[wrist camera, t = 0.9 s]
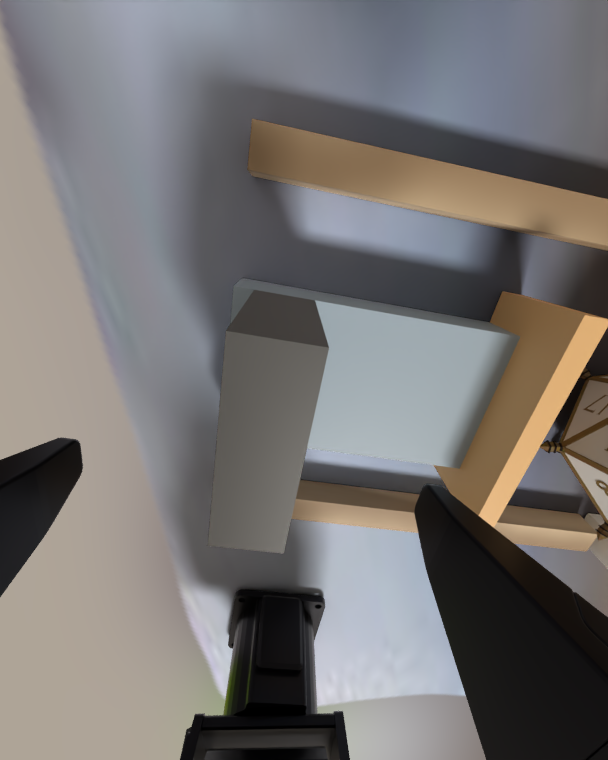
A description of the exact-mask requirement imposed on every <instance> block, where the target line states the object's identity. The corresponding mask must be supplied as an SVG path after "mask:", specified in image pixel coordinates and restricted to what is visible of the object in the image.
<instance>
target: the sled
mask: <svg viewBox="0 0 608 760" xmlns="http://www.w3.org/2000/svg"><path fill="white" fill-rule="evenodd" d="M607 327H608V319H606V318H603V317H599V316H595V315H592V314H588V313H585V312H581V311H578V310H574V309H570V308H567V307H563V306H560V305H556V304H553V303H549V302H545V301H542V300H538V299H535V298H531V297H528V296H524V295H520V294H514V293H509V292H504V291H502V294H501V296H500V299H499V301H498V303H497V306H496V308H495V311H494V313H493V315H492V318H491V320H490V322H485V321H480V320H474V319H468V318H463V317H457V316H452V315H446V314H441V313H435V312H429V311H424V310H418V309H413V308H407V307H402V306H396V305H390V304H385V303H379V302H374V301H368V300H363V299H357V298H351V297H346V296H340V295H335V294H329V293H324V292H318V291H312V290H307V289H301V288H296V287H290V286H285V285H279V284H273V283H268V282H262V281H257V280H251V279H246V278H242V279H241V280H240V281H238V282H237V283H236V284H235V285H234V286H233V297H232V308H231V319H230V326H229V327H228V328H227V330H226V335H225V346H224V358H223V370H222V382H221V394H220V405H219V417H218V429H217V441H216V453H215V464H214V476H213V488H212V500H211V512H210V523H209V535H208V546H212V547H222V548H232V549H242V550H252V551H262V552H272V553H282V554H284V550H285V546H286V541H287V537H288V532H289V528H290V523H291V518H292V514H293V509H294V505H295V500H296V496H297V491H298V487H299V482H300V478H301V473H302V469H303V464H304V460H305V455H306V450H307V448H308V449H315V450H323V451H330V452H338V453H346V454H353V455H361V456H368V457H376V458H383V459H391V460H398V461H406V462H414V463H421V464H429V465H434V467H435V468H436V470H437V472H438V473H439V475H440V477H441V479H442V480H443V482H444V484H445V485H446V487H447V489H448V490H449V492H450V493H451V494H452V495H453V496H454V497H456V498H457V499H458V500H459V501H461V502H462V503H463V504H464V505H466V506H467V507H468V508H470V509H471V510H472V511H473V512H475V513H476V514H477V515H478V516H480V517H481V518H482V519H483V520H485V521H486V522H487V523H489V524H490V525H491V526H492V527H495V525H496V523H497V521H498V520H499V518H500V516H501V514H502V513H503V511H504V509H505V507H506V505H507V504H508V502H509V500H510V498H511V497H512V495H513V493H514V491H515V490H516V488H517V486H518V484H519V483H520V481H521V479H522V477H523V475H524V474H525V472H526V470H527V468H528V467H529V465H530V463H531V461H532V460H533V458H534V456H535V454H536V452H537V451H538V449H539V447H540V445H541V444H542V442H543V440H544V438H545V437H546V435H547V433H548V431H549V430H550V428H551V426H552V424H553V422H554V421H555V419H556V417H557V415H558V414H559V412H560V410H561V408H562V407H563V405H564V403H565V401H566V400H567V398H568V396H569V394H570V392H571V391H572V389H573V387H574V385H575V384H576V382H577V380H578V378H579V377H580V375H581V373H582V371H583V369H584V368H585V366H586V364H587V362H588V361H589V359H590V357H591V355H592V354H593V352H594V350H595V348H596V347H597V345H598V343H599V341H600V339H601V338H602V336H603V334H604V332H605V331H606V329H607Z"/></svg>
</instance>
